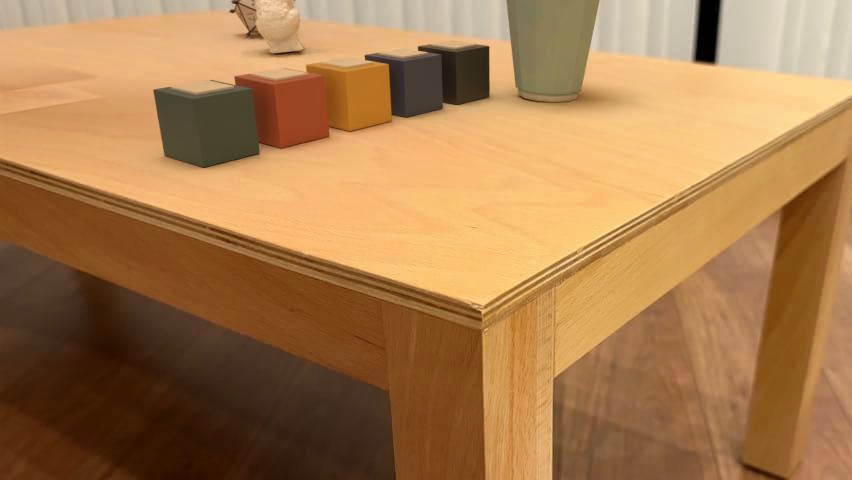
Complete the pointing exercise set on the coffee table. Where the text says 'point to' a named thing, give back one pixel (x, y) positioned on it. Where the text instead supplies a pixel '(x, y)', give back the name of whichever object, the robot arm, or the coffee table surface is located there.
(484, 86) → the block
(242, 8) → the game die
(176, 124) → the block
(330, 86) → the yellow cube block
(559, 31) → the disposable coffee cup
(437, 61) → the block
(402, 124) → the coffee table surface
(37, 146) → the coffee table surface
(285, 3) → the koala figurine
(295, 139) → the block
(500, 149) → the coffee table surface
